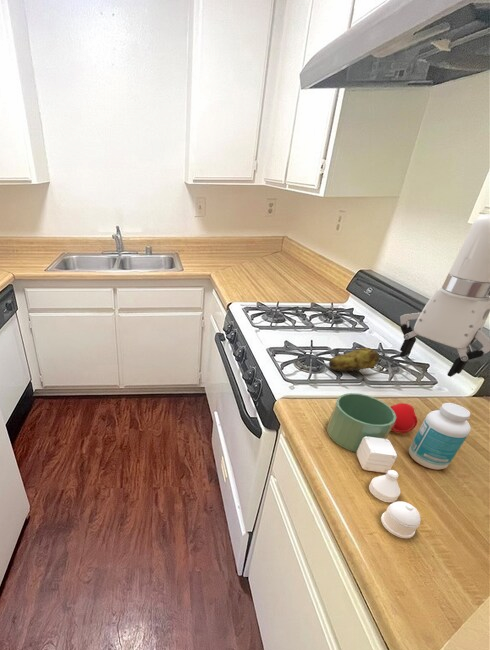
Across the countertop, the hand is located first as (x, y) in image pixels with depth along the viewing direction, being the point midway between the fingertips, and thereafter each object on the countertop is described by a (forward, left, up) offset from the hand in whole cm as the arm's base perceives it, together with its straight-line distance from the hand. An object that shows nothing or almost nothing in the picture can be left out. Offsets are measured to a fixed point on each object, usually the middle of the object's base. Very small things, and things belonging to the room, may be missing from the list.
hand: (426, 364), depth 75 cm
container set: (-9, +23, -18) cm, 30 cm away
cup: (+3, +12, -18) cm, 22 cm away
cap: (-1, 0, -18) cm, 18 cm away
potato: (+21, -15, -18) cm, 32 cm away
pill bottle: (-10, +5, -18) cm, 21 cm away
